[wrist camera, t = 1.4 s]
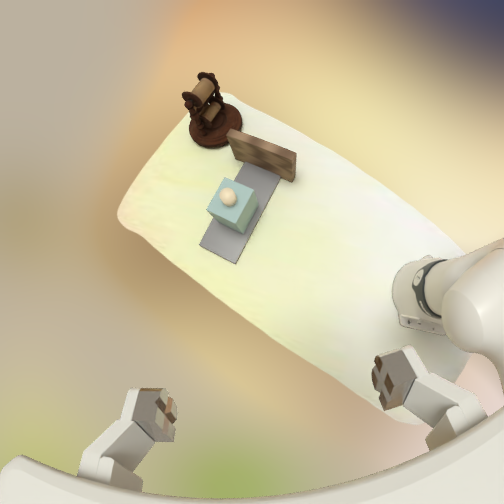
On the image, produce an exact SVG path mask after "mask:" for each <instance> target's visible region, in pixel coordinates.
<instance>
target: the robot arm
mask: <svg viewBox="0 0 504 504" xmlns="http://www.w3.org/2000/svg"><path fill="white" fill-rule="evenodd" d="M392 295H393V301H394V304H395V306H396V308H397V310H398V313H399V322H400V324H401V325H402V326H404V327H409V328H413V329H417V330H422V331H426V332H431V333H435V334H440V335H446V334H447V336H448V338H449V339H450V340H451V342H452V343H453V344H454V345H455V346H457V347H458V348H460V349H462V350H464V351H466V352H470V353H478V354H482V355H484V356H485V357H487V358H488V359H489V360H490V361H491V362H492V363H493V364H494V365H495V367H496V369H497V371H498V374H499V377H500V380H501V384H502V389H503V393H504V238H502V239H500V240H497V241H495V242H493V243H491V244H488V245H486V246H484V247H482V248H479V249H477V250H475V251H473V252H471V253H469V254H466V255H464V256H461V257H458V258H455V259H451V260H443V259H441V258H433V257H432V256H430V255H427V256H425V257H423V258H422V259H421V260H419V261H413V262H410V263H408V264H406V265H404V266H403V267H402V268H401V269H400V270H399V272H398V273H397V275H396V277H395V279H394V282H393V288H392ZM408 321H409V324H408ZM374 362H375V364H376V365H375V367H374V368H373V369H372V382H373V385H374V388H375V390H377V391H378V392H380V396H379V400H380V402H381V405H382V407H383V410H384V411H386V410H389V409H392V408H395V407H398V406H401V405H403V406H404V407H405V408H406V409H408V410H409V411H411V412H412V413H413V414H415V415H416V416H417V417H419V418H420V419H421V420H423V421H424V422H426V423H427V424H428V425H430V426H431V427H433V430H432V431H431V432H430V433H429V434H428V436H427V437H426V439H425V440H426V443H427V445H428V448H429V450H430V451H429V452H427V453H425V454H422V455H420V456H418V457H416V458H414V459H412V460H409V461H406V462H404V463H402V464H399V465H397V466H394V467H391V468H389V469H386V470H383V471H380V472H378V473H374V474H371V475H368V476H365V477H362V478H359V479H355V480H352V481H348V482H344V483H341V484H337V485H332V486H328V487H323V488H319V489H314V490H309V491H303V492H297V493H290V494H283V495H274V496H265V497H253V498H231V499H230V498H227V499H226V498H225V499H214V498H210V499H209V498H188V497H176V496H165V495H158V494H151V493H145V492H142V485H143V480H142V479H141V478H140V477H139V476H137V475H136V474H134V473H133V471H134V470H135V468H136V467H137V466H138V464H139V463H140V462H141V461H142V459H143V458H144V457H145V455H146V454H147V453H148V451H149V450H150V449H151V448H152V446H153V445H154V444H155V442H174V436H175V427H174V426H173V423H174V422H175V421H176V420H177V406H176V404H175V402H174V400H173V399H172V398H170V397H168V394H169V393H168V391H167V390H166V389H165V388H130V389H129V391H128V394H127V397H126V400H125V403H124V407H123V410H122V414H121V418H120V420H116V421H115V422H114V423H113V424H112V425H111V426H110V427H109V428H108V429H107V430H106V431H105V432H103V434H101V435H100V436H99V437H98V438H97V439H96V440H95V441H94V442H93V443H92V444H91V445H90V446H89V447H88V448H86V449H85V450H84V452H83V455H82V460H81V463H80V467H79V470H78V474H77V476H75V475H72V474H69V473H66V472H63V471H61V470H57V469H55V468H53V467H50V466H48V465H45V464H43V463H41V462H38V461H36V460H34V459H32V458H29V457H27V456H24V455H18V456H17V457H15V458H14V459H12V460H11V461H10V462H9V463H8V464H6V465H5V466H4V468H3V469H2V471H1V473H0V504H504V406H503V407H502V408H501V409H499V410H498V411H496V412H495V413H494V414H492V415H491V416H489V417H488V416H487V415H486V413H485V411H484V409H483V407H482V406H481V404H480V402H479V400H478V399H477V397H476V395H475V394H474V393H472V392H470V391H468V390H466V389H464V388H462V387H460V386H458V385H456V384H454V383H452V382H450V381H448V380H446V379H444V378H442V377H440V376H438V375H436V374H434V373H433V372H432V373H429V372H428V370H427V369H426V367H425V365H424V364H423V362H422V361H421V359H420V357H419V356H418V354H417V352H416V351H415V349H414V348H413V346H411V345H408V346H405V347H402V348H399V349H395V350H392V351H389V352H386V353H383V354H379V355H377V356H376V357H375V360H374ZM154 441H155V442H154Z"/></svg>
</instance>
